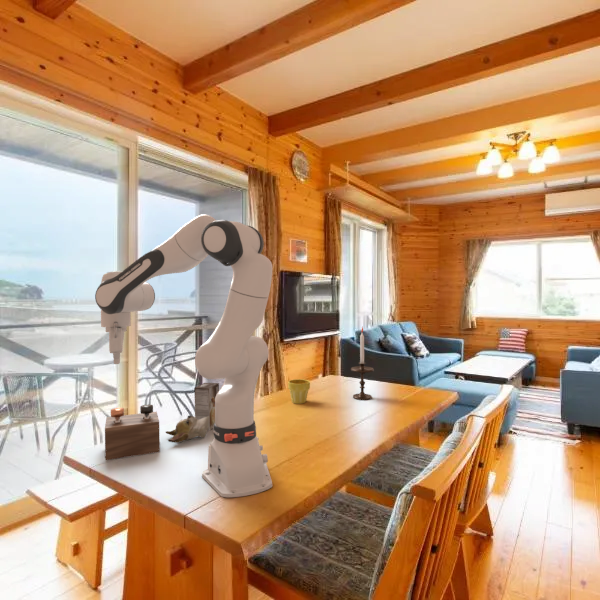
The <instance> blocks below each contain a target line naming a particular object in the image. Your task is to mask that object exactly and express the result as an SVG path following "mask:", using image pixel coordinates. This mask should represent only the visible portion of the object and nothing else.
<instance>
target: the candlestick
mask: <svg viewBox="0 0 600 600" xmlns="http://www.w3.org/2000/svg"><path fill="white" fill-rule="evenodd" d="M363 332H364V328H363V326H362V327H361V334H360V336H359V337H360V338H359V342H360V343H359V347H360V348H359V353H360V354H359V357H360V358H359V359H360V360H359V362H358V364H359V366H357V365H356V366H352V367H350V371H351V372H354V373H359V374H360V381H359V385H360V386H359V388H360V393H356V394H353V395H352V399H354V400H358V401H369V400H371V399H372V398H373V397H372V395H371V394H369V393H365V390H364V389H365V388H366V387H365V384H366V381H365V379H364V377H365V376H364V375H365V374H366V373H368V374H369V373H372V372H373V373H374V371H375V370H374V367H371V366H365V364H367V362H365V335H364V333H363Z"/></svg>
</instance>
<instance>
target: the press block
mask: <svg viewBox="0 0 600 600" xmlns="http://www.w3.org/2000/svg"><path fill="white" fill-rule="evenodd" d="M160 443H161V442H160V419H159V415H158V412H157V411H153V412H152V413H149V419H144V414H141V413H133V414H126V415H125V414H124V416H121V417H120V422H116V423H115V417H111V416H109V417H108V416H107V417H106V419H105V424H104V458H105V459H104V461H109V460H117V459H123V458H128V457H134V456H135V457H136V456H141V455H142V456H143V455H150V454H154V453H155V454H156V453H160V452H161V450H160V448H161V447H160V445H161V444H160Z"/></svg>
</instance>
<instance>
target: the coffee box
mask: <svg viewBox="0 0 600 600" xmlns="http://www.w3.org/2000/svg"><path fill="white" fill-rule="evenodd" d="M219 385H220V383H219V382H203V383H202V384H199V385H197V386H196V387H194V388H193V389H194V391H193V393H194V417H195V418H196V419H198V420H199V419H202V418H205V417H207V416H209V428H208V430H207V431H211V430H213V428H214V423H215V397H216V395H217V393H218V391H219V390H220V386H219Z"/></svg>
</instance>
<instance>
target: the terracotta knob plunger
mask: <svg viewBox="0 0 600 600" xmlns="http://www.w3.org/2000/svg"><path fill="white" fill-rule="evenodd" d="M124 415H125V408H124V407H114V408H111V409H110V417H115V423H116V422H120V417H121V416H124Z"/></svg>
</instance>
